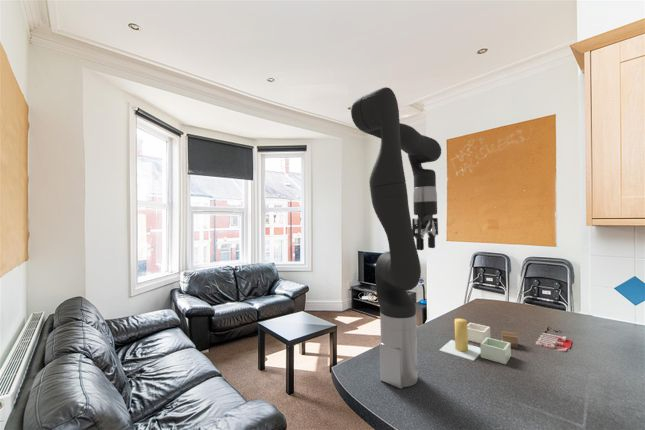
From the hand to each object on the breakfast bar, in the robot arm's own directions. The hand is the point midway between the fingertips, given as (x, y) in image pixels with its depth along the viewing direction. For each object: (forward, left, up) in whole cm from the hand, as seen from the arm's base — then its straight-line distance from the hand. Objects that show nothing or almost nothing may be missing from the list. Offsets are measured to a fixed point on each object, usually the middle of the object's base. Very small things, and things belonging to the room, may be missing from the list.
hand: (426, 248), depth 98 cm
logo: (+31, -30, -32) cm, 54 cm away
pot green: (+3, -19, -32) cm, 37 cm away
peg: (+1, -10, -31) cm, 33 cm away
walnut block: (+15, -20, -32) cm, 41 cm away
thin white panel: (+1, -10, -32) cm, 33 cm away
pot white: (+13, -11, -32) cm, 36 cm away
